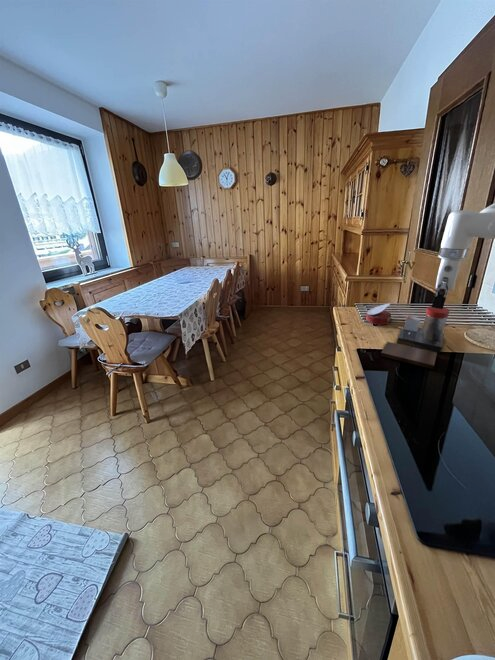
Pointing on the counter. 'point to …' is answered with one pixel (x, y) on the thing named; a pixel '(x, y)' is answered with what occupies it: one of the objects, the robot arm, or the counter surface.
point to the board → (409, 355)
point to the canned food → (378, 315)
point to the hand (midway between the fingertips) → (438, 303)
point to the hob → (417, 340)
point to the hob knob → (412, 323)
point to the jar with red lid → (434, 324)
